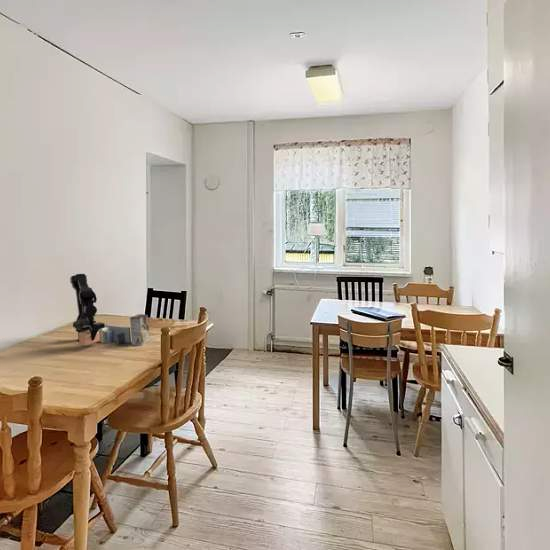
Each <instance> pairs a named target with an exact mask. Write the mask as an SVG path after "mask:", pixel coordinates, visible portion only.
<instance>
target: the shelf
mask: <svg viewBox="0 0 550 550" xmlns="http://www.w3.org/2000/svg"><path fill="white" fill-rule="evenodd" d="M99 332H100V341H97V342H98V343H103V344H110V343H113V342H116V334H119V333H122V332H124V334H125V342H129V343H128V344H132V337H131V326H130V327H129V326H121V325H119V326H118V325H112V324H105V328H102V329H99Z"/></svg>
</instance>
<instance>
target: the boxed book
mask: <svg viewBox="0 0 550 550" xmlns="http://www.w3.org/2000/svg"><path fill="white" fill-rule="evenodd" d="M98 341H100V332H99V330H98V332H97V334H96V337H95V339H94V340H93V341H92V338H91V332H90V331H89V330H87V331H83V332H80V333H79V341H78V342H79V343H78V344H79V345H82V346H88V345H91V344H93V343H96V342H98Z"/></svg>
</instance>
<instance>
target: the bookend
mask: <svg viewBox="0 0 550 550" xmlns="http://www.w3.org/2000/svg"><path fill="white" fill-rule="evenodd" d="M115 342H116V346H126V345H127V344H128V345H129V344H130V343H129V342H125V334H124V332H122V333H119V334H116V341H115Z"/></svg>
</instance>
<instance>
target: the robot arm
mask: <svg viewBox="0 0 550 550" xmlns="http://www.w3.org/2000/svg"><path fill="white" fill-rule="evenodd" d="M69 281H70V284H71V287H72V288H73V290H74V291H75V296H76V297H75V298H76V305H77V310H78V311H77V312H78V315H77V317H76V320H75V321H74V322H73V323H72V327H73V328H74V329H75V332H76V333H77V335H78V339H76V342H79V333H80V332H83V331H87V330H89V331H90V332H91V338H92V341H93V340H94V339H95V337H96V334H97V332H98V330H99V329H102V328H105V325H106V324H105V323H104V322H101V321H100V322H97V321H96V320H95V316H96V314H97V313H98V309H97V306H95V305H94V304H95V303H96V304H97V301H98V299H97V294H96V293H95V291H94V290H93V288H92V287H90V286H89V285H88V279H87V275H86V274H85V273H77V274H74V275H72V276H70V277H69Z"/></svg>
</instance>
